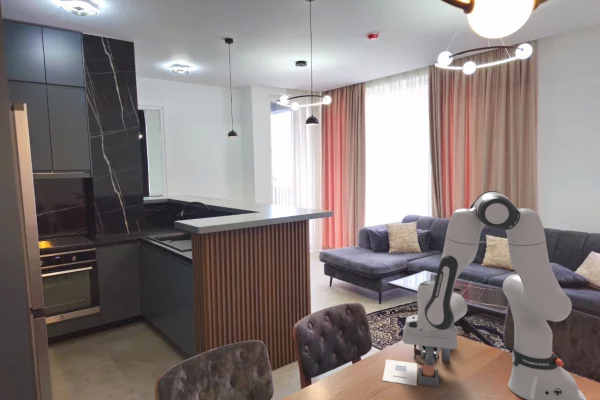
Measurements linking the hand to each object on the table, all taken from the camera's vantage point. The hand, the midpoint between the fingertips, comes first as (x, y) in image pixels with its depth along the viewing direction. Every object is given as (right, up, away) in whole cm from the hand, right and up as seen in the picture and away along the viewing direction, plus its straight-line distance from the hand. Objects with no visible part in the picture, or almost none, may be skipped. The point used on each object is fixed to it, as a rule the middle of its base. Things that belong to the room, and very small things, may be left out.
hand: (429, 356), depth 147 cm
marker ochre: (+8, -4, +5) cm, 11 cm away
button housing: (-4, -5, -9) cm, 11 cm away
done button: (-4, -4, -9) cm, 10 cm away
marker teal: (0, -3, 0) cm, 3 cm away
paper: (-12, -5, -3) cm, 13 cm away
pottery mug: (+2, -4, +10) cm, 11 cm away
